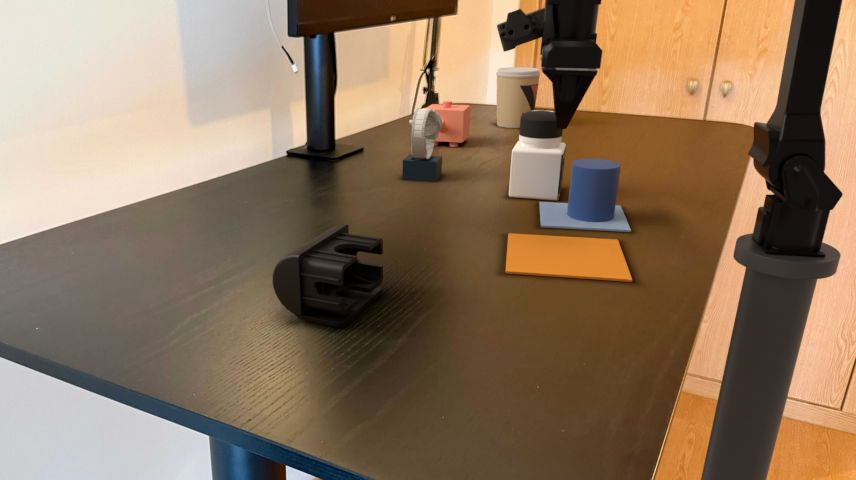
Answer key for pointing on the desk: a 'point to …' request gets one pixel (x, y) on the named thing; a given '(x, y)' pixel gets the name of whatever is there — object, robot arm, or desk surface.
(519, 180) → the medicine bottle
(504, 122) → the coffee cup
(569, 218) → the blue mat
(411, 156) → the watch
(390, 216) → the desk surface
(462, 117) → the pink cube teapot
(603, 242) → the amber mat
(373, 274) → the end cap
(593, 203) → the blue cylinder
